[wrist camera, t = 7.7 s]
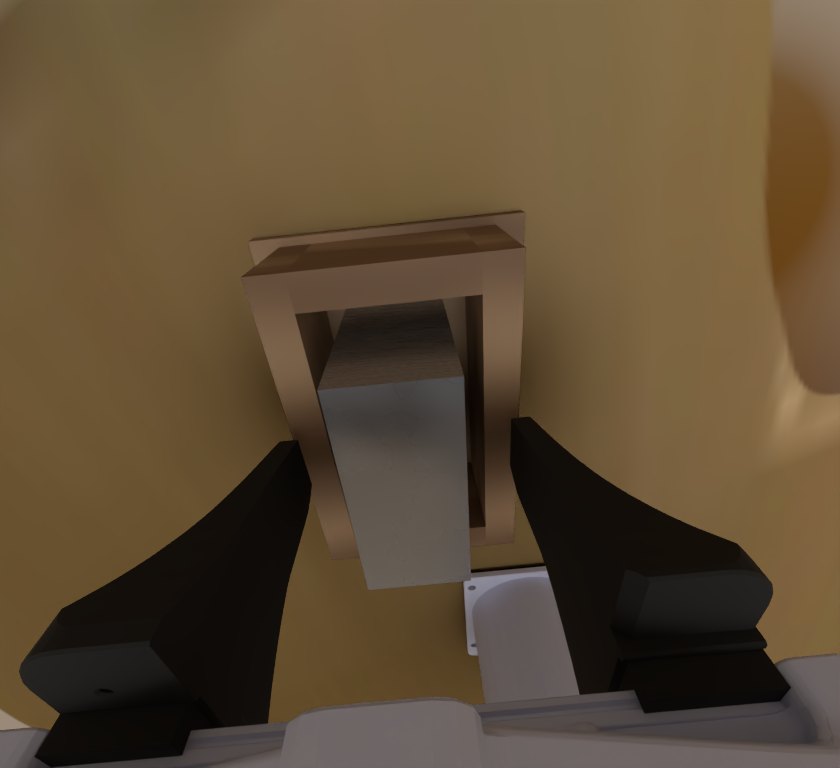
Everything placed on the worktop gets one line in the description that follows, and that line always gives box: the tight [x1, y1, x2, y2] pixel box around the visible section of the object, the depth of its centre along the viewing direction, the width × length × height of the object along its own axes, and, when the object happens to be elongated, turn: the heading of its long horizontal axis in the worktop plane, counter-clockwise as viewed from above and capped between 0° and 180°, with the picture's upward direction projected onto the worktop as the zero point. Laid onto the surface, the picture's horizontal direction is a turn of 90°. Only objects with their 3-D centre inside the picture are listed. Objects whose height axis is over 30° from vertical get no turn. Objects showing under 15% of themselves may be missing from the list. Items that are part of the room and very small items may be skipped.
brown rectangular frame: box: [241, 211, 526, 560], centre depth 16 cm, size 13×10×4 cm
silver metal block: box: [317, 299, 471, 590], centre depth 14 cm, size 8×4×7 cm, turn 5°
